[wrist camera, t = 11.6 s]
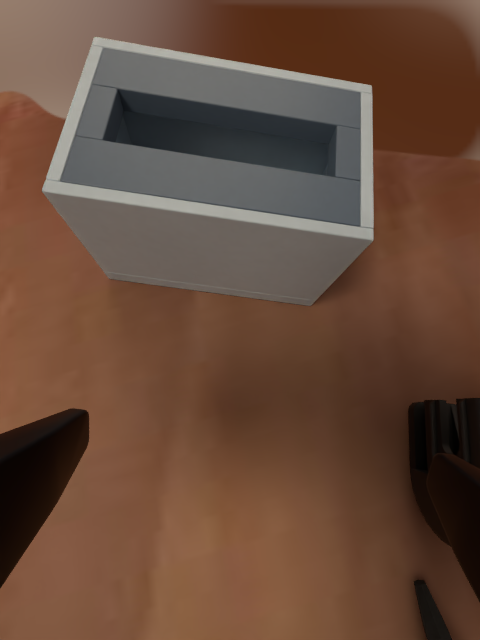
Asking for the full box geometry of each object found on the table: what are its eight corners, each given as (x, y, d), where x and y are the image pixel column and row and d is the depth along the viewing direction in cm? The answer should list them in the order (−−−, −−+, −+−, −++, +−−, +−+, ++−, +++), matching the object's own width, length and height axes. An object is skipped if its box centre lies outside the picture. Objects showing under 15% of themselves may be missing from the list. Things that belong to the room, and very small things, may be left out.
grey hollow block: (374, 240, 14) (372, 84, 16) (40, 190, 13) (93, 35, 15) (310, 306, 22) (316, 198, 25) (108, 278, 21) (135, 170, 24)
